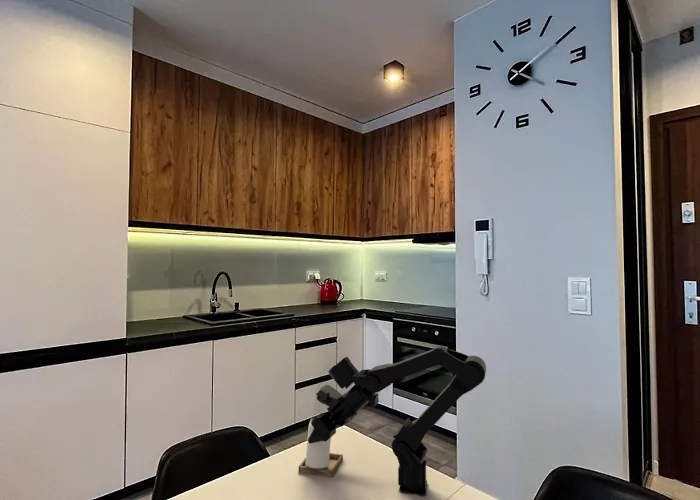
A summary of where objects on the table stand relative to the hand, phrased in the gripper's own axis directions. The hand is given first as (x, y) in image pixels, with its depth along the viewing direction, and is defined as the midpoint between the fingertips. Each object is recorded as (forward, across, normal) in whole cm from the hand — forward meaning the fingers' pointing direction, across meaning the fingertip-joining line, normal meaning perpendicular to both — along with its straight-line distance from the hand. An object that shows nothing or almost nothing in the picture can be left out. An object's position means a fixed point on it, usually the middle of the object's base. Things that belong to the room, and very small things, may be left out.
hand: (317, 435), depth 108 cm
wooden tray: (+5, 0, +7) cm, 8 cm away
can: (+4, +2, +6) cm, 8 cm away
